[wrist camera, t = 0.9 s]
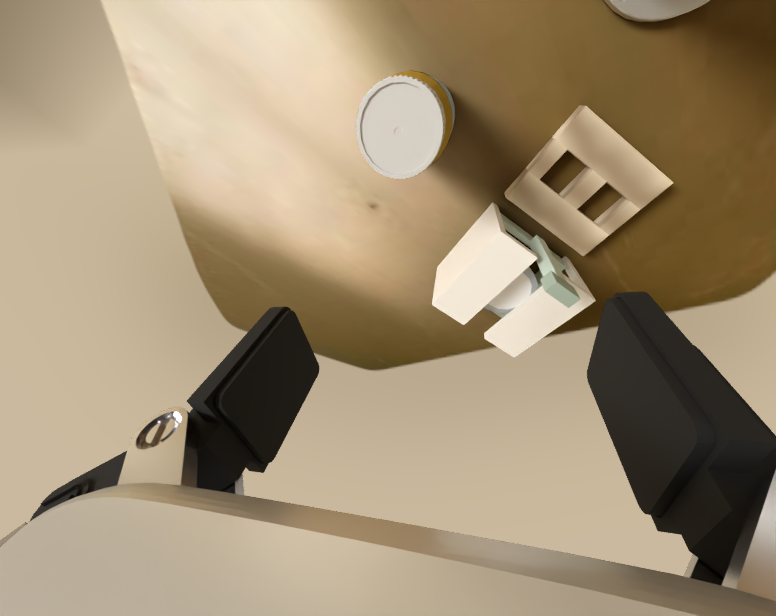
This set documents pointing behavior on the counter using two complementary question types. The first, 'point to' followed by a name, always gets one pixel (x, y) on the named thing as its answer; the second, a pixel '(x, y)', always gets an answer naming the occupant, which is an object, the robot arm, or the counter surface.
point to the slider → (545, 267)
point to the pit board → (587, 181)
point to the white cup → (514, 293)
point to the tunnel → (501, 285)
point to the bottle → (405, 124)
